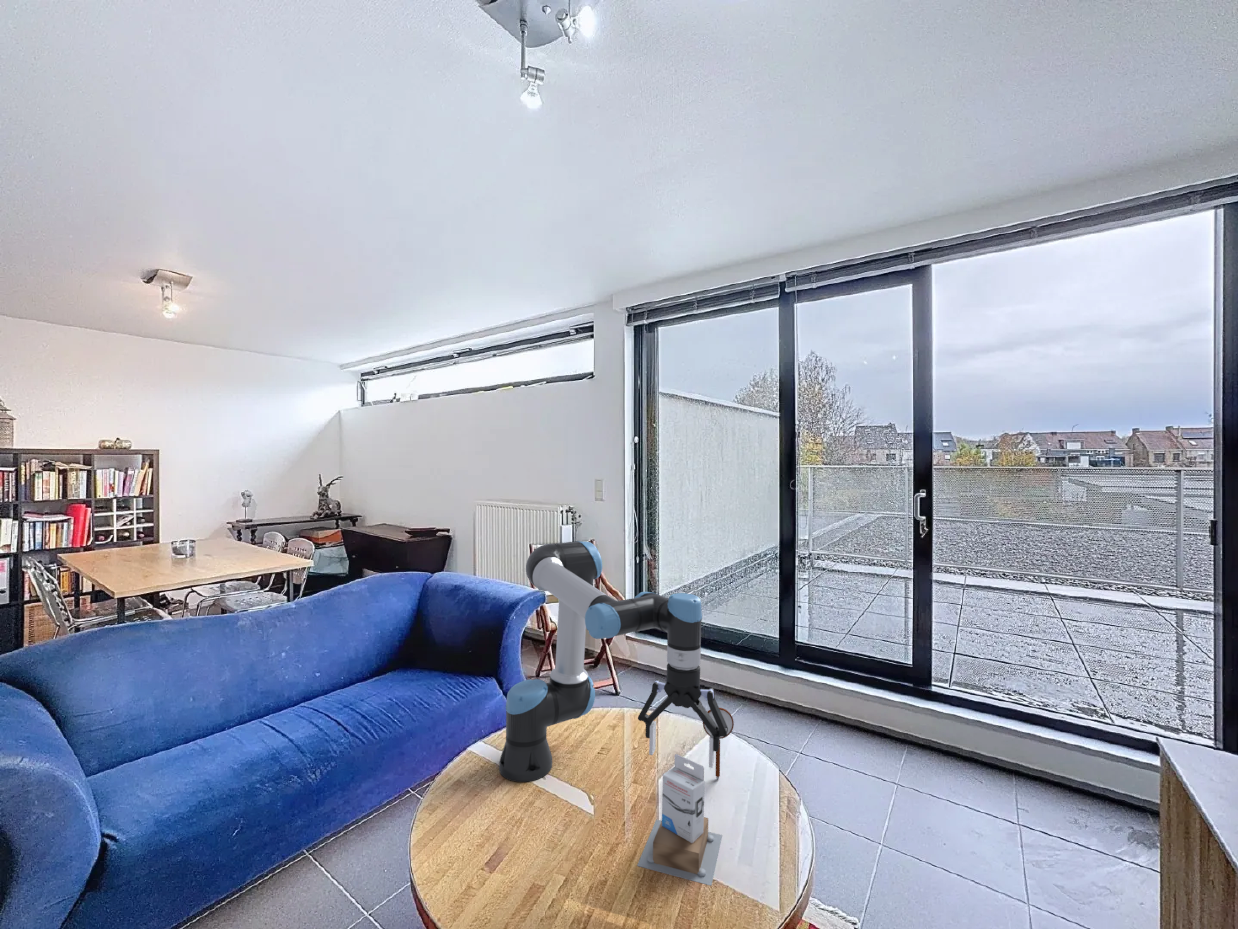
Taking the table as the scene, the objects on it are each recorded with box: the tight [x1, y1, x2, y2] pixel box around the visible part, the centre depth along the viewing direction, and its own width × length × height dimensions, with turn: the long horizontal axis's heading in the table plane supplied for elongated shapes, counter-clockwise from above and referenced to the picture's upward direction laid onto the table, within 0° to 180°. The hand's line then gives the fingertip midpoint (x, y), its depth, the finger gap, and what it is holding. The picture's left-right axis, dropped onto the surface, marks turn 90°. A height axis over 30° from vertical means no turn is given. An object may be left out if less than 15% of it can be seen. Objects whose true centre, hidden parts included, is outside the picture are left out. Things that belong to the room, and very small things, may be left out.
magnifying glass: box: [702, 707, 735, 780], centre depth 148 cm, size 9×2×20 cm, turn 87°
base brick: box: [653, 816, 709, 874], centre depth 119 cm, size 10×12×4 cm
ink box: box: [661, 753, 706, 843], centre depth 119 cm, size 9×5×15 cm, turn 49°
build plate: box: [636, 819, 723, 886], centre depth 119 cm, size 16×16×2 cm
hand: (681, 758), depth 119 cm, fingers open, 13 cm apart
